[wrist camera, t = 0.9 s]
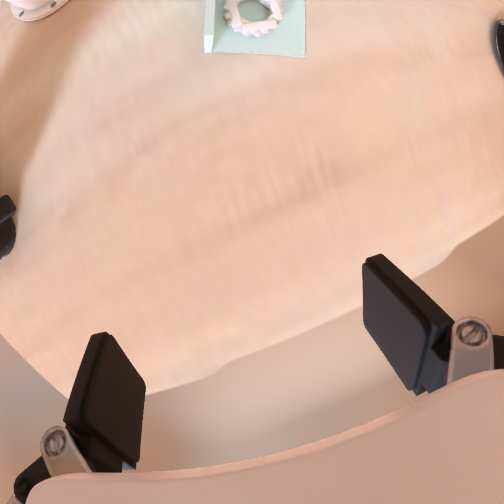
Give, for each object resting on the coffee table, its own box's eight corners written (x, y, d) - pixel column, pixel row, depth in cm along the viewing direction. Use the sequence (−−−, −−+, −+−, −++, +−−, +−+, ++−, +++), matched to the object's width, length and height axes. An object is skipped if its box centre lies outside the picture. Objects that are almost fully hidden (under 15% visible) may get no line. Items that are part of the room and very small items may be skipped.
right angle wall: (203, 52, 28) (204, 35, 21) (208, -27, 23) (210, -56, 16) (305, 58, 29) (329, 45, 23) (304, -19, 24) (325, -43, 18)
